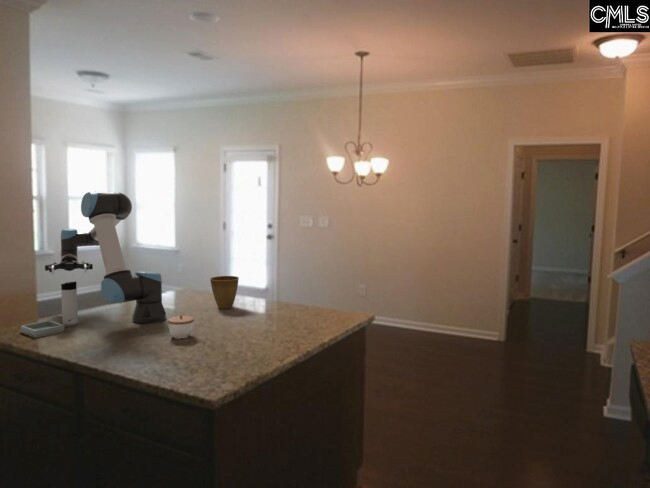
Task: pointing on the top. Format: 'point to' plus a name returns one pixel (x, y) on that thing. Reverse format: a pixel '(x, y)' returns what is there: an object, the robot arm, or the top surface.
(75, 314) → the travel mug
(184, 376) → the top surface
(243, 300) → the top surface
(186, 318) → the lidded jar
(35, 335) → the tray
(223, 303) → the plant pot
